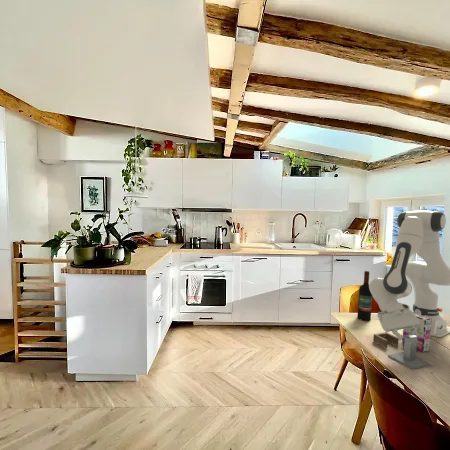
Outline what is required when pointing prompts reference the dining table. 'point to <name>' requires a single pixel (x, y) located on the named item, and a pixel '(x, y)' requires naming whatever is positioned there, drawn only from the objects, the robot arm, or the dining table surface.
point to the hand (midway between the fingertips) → (409, 337)
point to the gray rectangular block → (410, 347)
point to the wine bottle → (364, 300)
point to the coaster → (410, 364)
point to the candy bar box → (421, 333)
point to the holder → (385, 339)
